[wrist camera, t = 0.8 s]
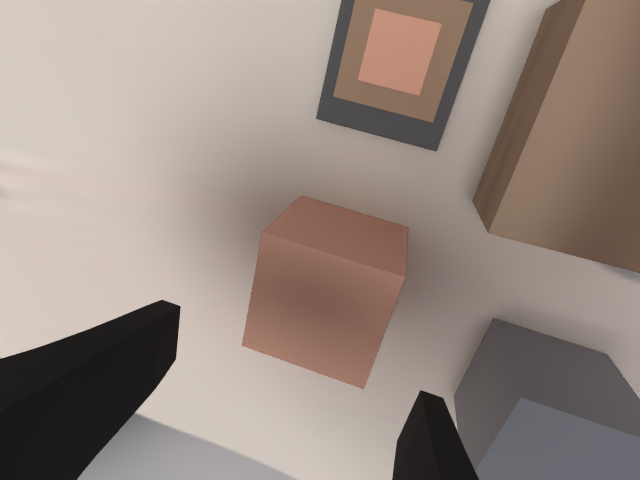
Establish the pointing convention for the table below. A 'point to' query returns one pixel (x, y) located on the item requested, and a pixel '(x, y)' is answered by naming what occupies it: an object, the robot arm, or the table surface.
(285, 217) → the terracotta cube
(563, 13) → the walnut block
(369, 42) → the card
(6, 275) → the table surface
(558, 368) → the charcoal cube
